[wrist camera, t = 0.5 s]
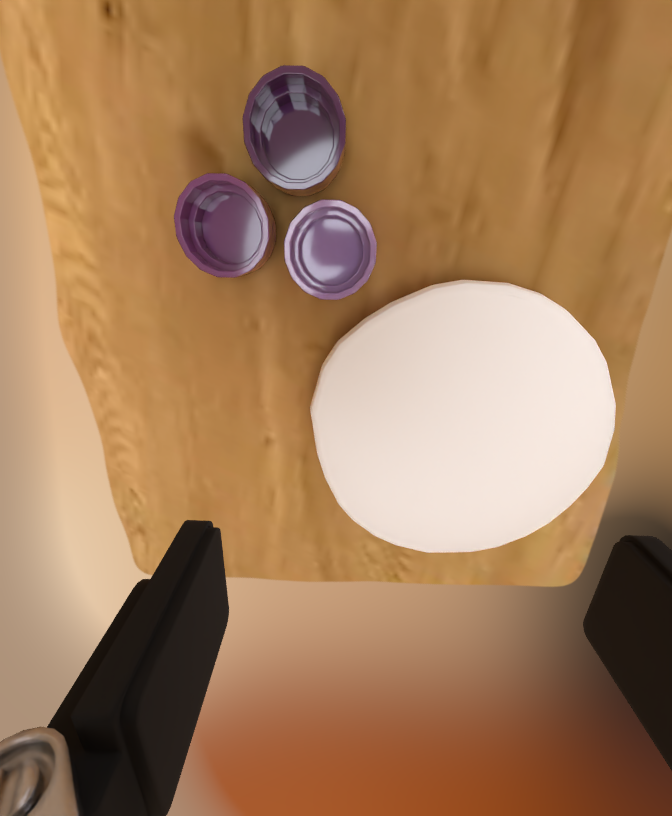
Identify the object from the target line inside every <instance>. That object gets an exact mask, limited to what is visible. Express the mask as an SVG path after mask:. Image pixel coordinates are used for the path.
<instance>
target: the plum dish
mask: <svg viewBox="0 0 672 816" xmlns="http://www.w3.org/2000/svg"><path fill="white" fill-rule="evenodd" d="M174 221H175V228H176V236H177V239H178V241H179V243H180V245H181V247H182V249H183V251H184V253H185V255H186V256H187V257H188V258H189V259H190V260H191V261H192V262H193V263H194V264H195V265H196V266H197V267H198V268H199V269H201V270H202V271H205V272H207V273H209V274H211V275H214V276H216V277H231V278H235V277H239V276H243V275H247V274H249V273H251V272H254V271H256V270H258V269H259V268H261V267H262V266H263V265H264V263H265V262H266V261H267V260H268V259H269V258H270V256H271V254H272V251H273V248H274V245H275V242H276V226H275V220H274V217H273V215H272V212H271V210H270V207H269V205H268V203H267V202H266V201H265V200H264V199H263V198H262V197H261V195H260V194H259V193H258V192H257V191H256V190H255V189H253V188H252V187H251V186H249V185H248V184H246V183H245V182H243V181H241V180H239V179H237V178H235V177H233V176H231V175H229V174H220V173H208V174H205V175H203V176H201V177H199V178H197V179H195V180H193V181H191V182H190V183H189V184H188V185H187V187H186V188H185V189H184V191H183V192H182V193H181V195H180V196H179V198H178V202H177V206H176V210H175V214H174Z"/></svg>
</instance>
